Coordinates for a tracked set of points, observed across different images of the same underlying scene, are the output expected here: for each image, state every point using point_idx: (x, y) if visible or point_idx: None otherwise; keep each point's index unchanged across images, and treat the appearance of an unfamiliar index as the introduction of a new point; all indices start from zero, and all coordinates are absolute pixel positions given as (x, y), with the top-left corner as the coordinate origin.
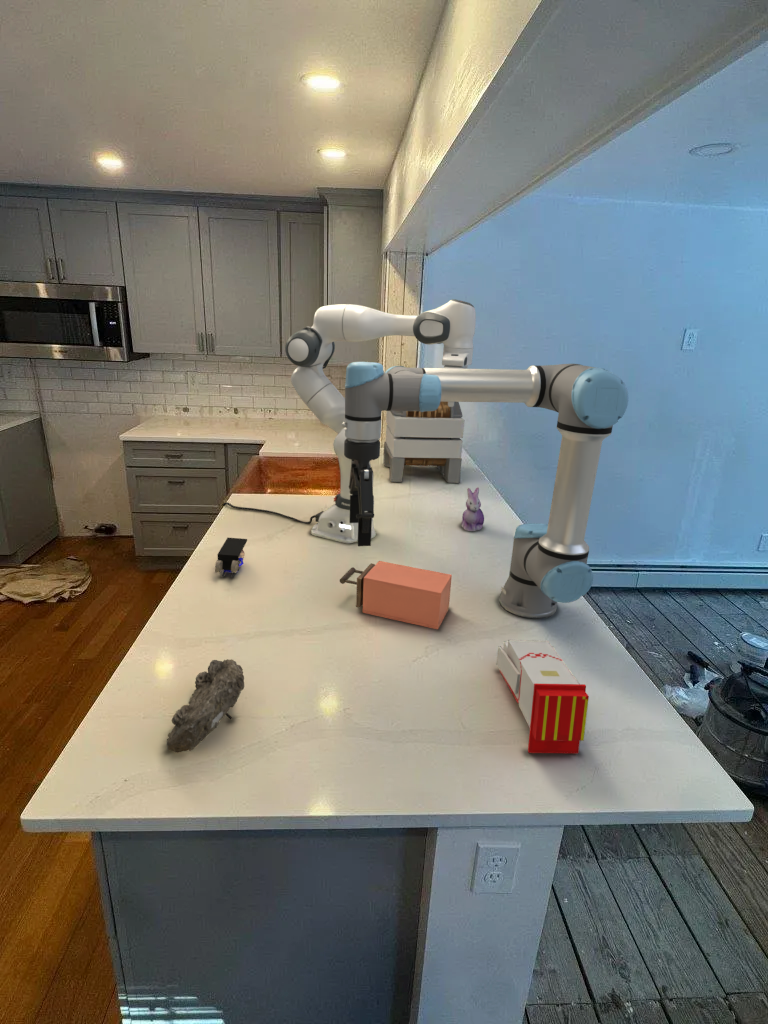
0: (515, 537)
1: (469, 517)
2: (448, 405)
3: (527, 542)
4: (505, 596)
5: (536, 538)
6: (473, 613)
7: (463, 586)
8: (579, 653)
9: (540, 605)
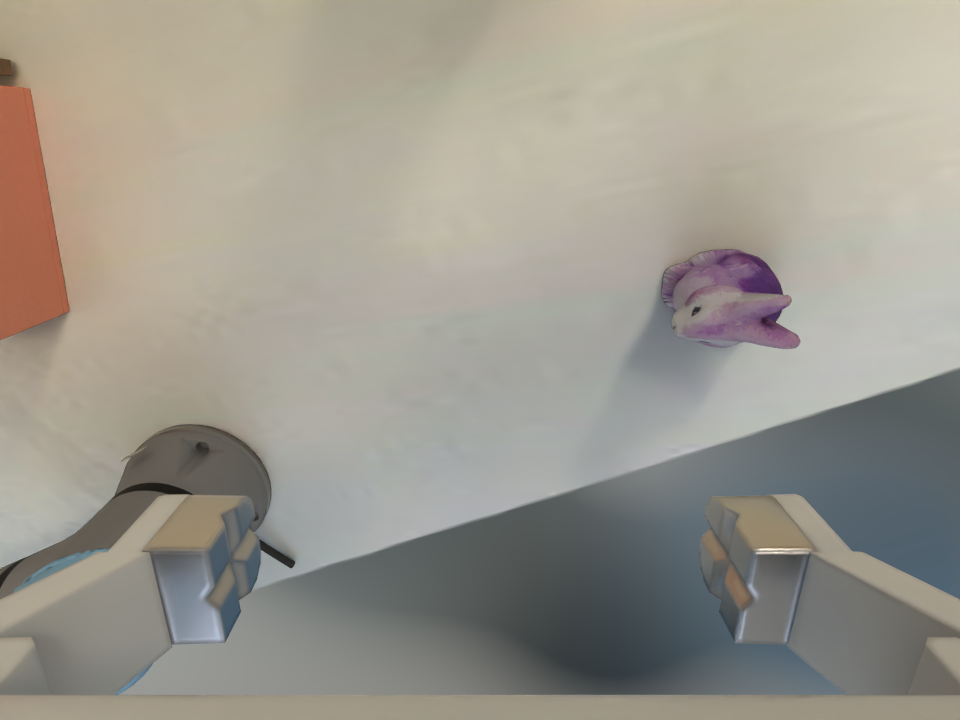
0: (43, 567)
1: (675, 295)
2: (161, 505)
3: None
4: (141, 452)
5: None
6: (87, 372)
7: (220, 328)
8: None
9: None
